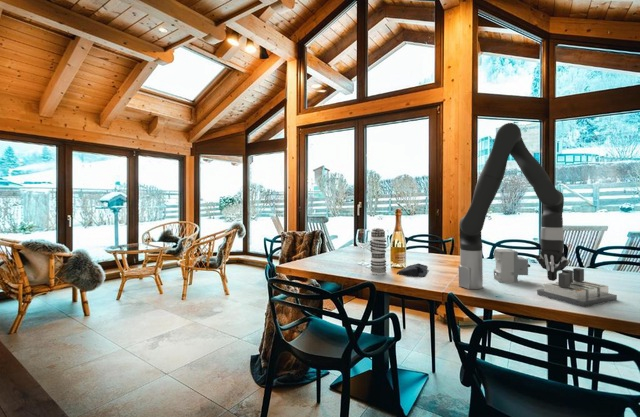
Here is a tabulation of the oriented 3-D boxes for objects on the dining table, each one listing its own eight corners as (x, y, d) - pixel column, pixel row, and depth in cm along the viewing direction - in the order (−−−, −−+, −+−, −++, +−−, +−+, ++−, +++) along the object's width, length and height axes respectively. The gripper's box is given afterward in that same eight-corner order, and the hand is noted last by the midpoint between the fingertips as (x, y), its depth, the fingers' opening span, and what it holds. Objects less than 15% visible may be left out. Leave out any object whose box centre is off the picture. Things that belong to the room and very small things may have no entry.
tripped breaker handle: (564, 287, 122) (564, 274, 122) (558, 285, 124) (558, 273, 124) (569, 286, 123) (569, 273, 123) (563, 285, 125) (563, 272, 125)
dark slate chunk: (432, 270, 181) (432, 262, 181) (423, 278, 163) (423, 269, 162) (405, 267, 189) (405, 260, 189) (394, 275, 170) (394, 266, 170)
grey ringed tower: (390, 273, 174) (389, 228, 174) (378, 275, 169) (377, 229, 168) (378, 270, 182) (378, 227, 181) (366, 272, 176) (366, 228, 176)
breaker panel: (583, 307, 115) (583, 279, 114) (537, 294, 131) (537, 270, 130) (616, 300, 122) (616, 273, 121) (569, 288, 138) (568, 265, 137)
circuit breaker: (532, 283, 148) (531, 251, 148) (499, 282, 151) (498, 251, 151) (525, 279, 155) (524, 249, 155) (493, 278, 158) (493, 248, 158)
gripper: (529, 237, 132) (529, 277, 133) (563, 240, 120) (563, 285, 120) (541, 236, 135) (542, 275, 135) (576, 239, 123) (576, 283, 123)
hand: (552, 280), depth 128 cm, fingers closed
